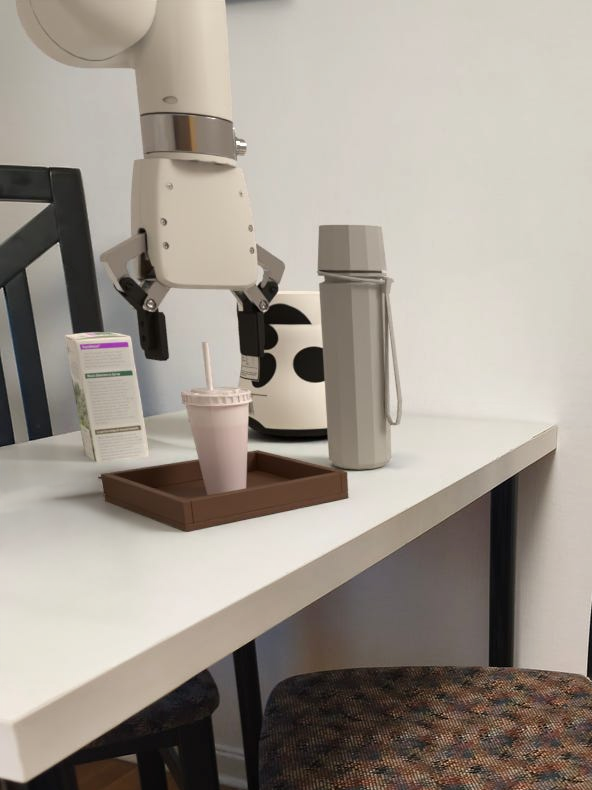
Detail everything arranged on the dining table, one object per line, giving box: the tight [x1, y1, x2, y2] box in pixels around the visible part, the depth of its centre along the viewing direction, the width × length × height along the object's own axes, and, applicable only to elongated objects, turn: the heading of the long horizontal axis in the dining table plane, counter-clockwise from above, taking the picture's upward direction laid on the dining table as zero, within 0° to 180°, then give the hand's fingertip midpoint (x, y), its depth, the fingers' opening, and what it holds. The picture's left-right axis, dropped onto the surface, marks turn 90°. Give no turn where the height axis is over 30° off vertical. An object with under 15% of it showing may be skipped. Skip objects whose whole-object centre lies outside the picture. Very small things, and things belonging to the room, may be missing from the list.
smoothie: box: [180, 341, 252, 495], centre depth 84 cm, size 6×6×14 cm
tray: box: [100, 449, 349, 532], centre depth 87 cm, size 18×16×3 cm
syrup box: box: [63, 331, 150, 479], centre depth 95 cm, size 6×6×14 cm
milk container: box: [236, 290, 328, 438], centre depth 119 cm, size 17×17×18 cm
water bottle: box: [316, 224, 403, 471], centre depth 97 cm, size 9×8×25 cm
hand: (206, 357), depth 82 cm, fingers open, 9 cm apart
